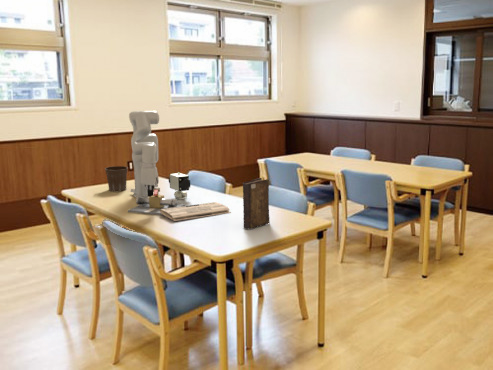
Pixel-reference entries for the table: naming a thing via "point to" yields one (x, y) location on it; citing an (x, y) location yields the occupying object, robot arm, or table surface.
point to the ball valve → (179, 184)
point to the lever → (156, 191)
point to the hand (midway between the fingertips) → (150, 195)
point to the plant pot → (116, 177)
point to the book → (256, 203)
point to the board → (150, 209)
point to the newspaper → (195, 211)
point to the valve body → (156, 201)
